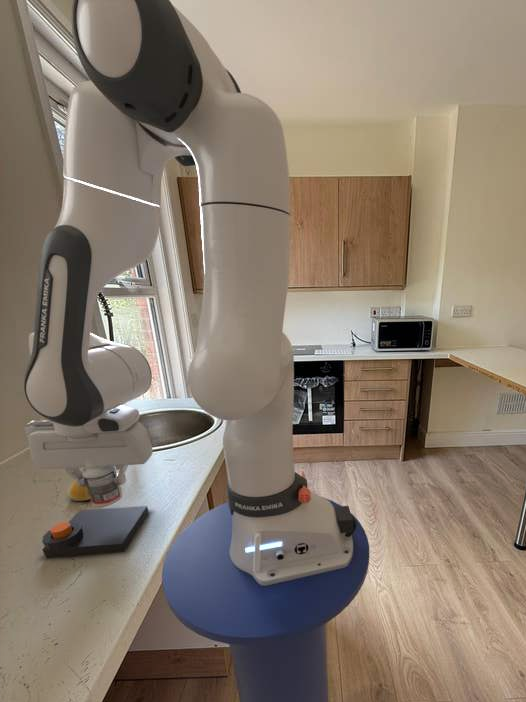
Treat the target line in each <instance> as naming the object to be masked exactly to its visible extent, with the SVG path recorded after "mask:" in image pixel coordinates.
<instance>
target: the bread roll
mask: <svg viewBox="0 0 526 702" xmlns="http://www.w3.org/2000/svg"><path fill="white" fill-rule="evenodd" d="M67 496H68V498H69V499H70V500H71V501H72V500H73V501H76V502H84V501H85V502H86V501H88V500H91V499H90V496H89V493H88V490H87V487H78V485H77V482H76V480H74V482H73V483H72V484H71V486H70V487H69V489H68V490H67Z"/></svg>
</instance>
